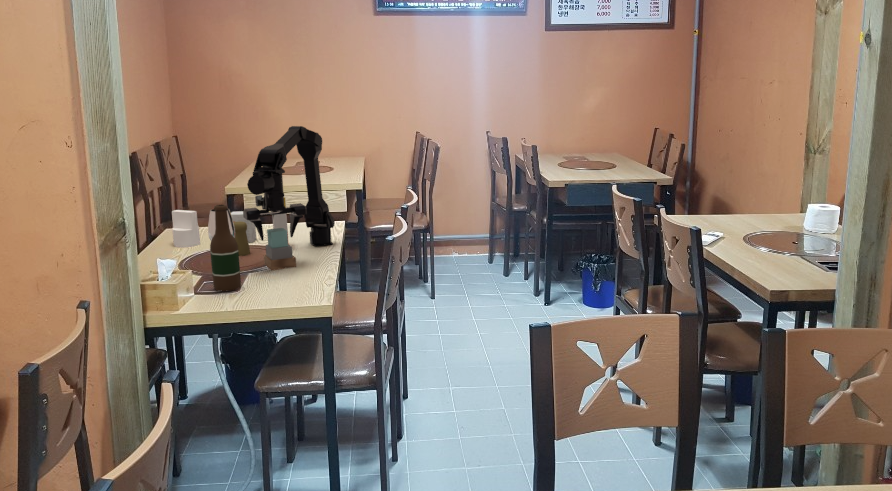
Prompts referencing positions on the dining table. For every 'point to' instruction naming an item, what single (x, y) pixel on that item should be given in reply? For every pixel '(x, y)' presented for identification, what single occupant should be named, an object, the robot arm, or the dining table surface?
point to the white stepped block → (185, 228)
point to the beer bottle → (224, 254)
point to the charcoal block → (279, 252)
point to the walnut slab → (280, 263)
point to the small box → (250, 226)
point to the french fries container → (280, 220)
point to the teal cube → (277, 237)
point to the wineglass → (212, 224)
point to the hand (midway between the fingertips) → (277, 238)
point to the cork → (241, 238)
